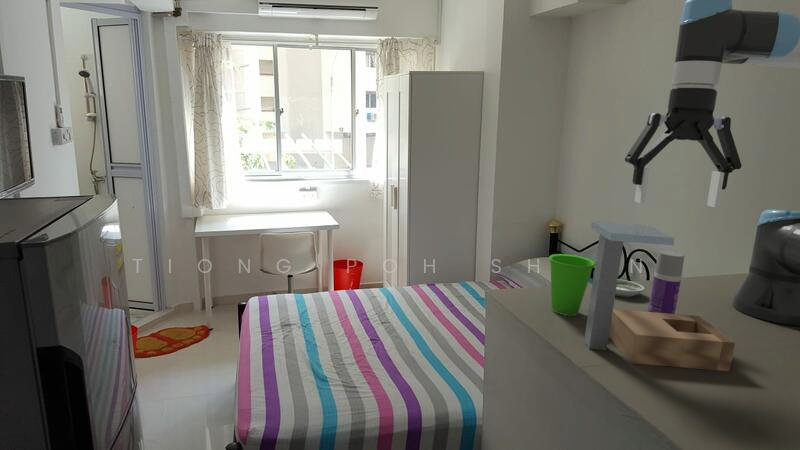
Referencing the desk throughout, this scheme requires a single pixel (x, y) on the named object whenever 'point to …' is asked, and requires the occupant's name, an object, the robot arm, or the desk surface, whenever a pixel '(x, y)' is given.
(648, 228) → the grey flat-topped post
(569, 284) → the cup
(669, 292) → the container
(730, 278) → the desk surface
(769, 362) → the desk surface
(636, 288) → the saucer
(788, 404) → the desk surface
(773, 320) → the robot arm
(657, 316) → the socket block
